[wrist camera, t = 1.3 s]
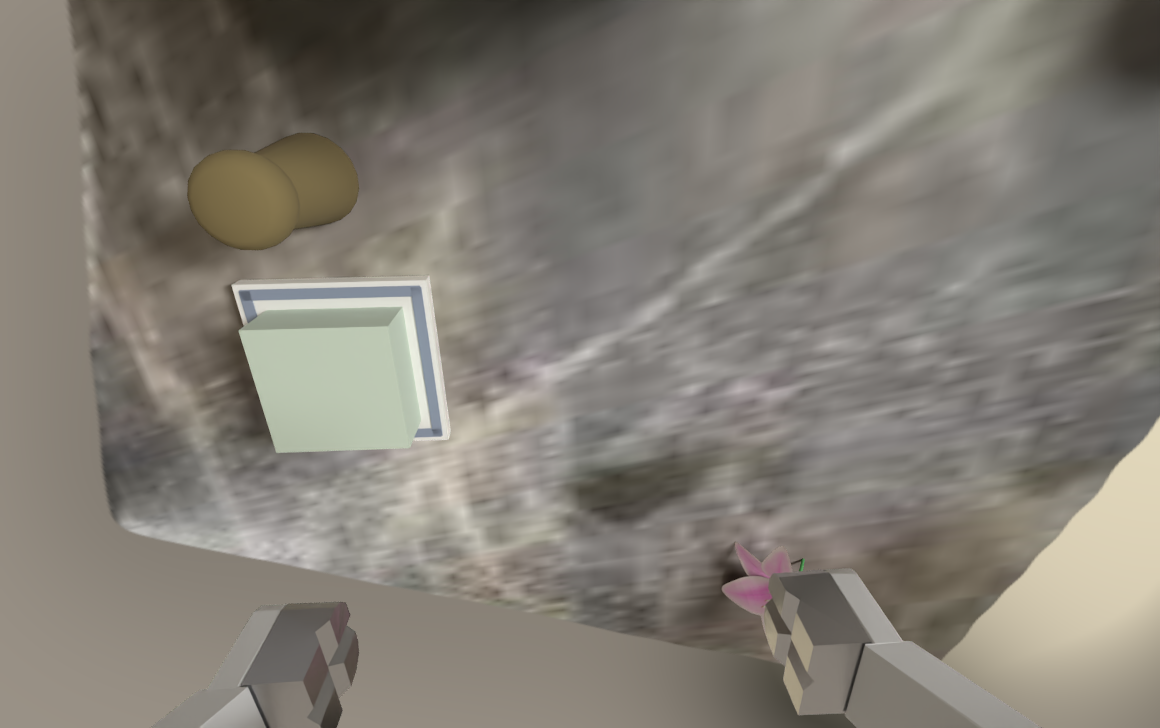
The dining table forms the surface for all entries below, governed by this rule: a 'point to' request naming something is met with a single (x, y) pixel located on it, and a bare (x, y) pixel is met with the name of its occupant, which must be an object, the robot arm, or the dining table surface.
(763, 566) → the lily
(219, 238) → the cork
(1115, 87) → the dining table surface
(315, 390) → the butter dish
